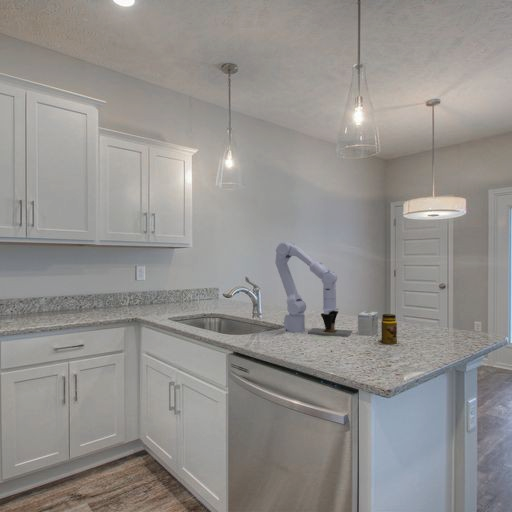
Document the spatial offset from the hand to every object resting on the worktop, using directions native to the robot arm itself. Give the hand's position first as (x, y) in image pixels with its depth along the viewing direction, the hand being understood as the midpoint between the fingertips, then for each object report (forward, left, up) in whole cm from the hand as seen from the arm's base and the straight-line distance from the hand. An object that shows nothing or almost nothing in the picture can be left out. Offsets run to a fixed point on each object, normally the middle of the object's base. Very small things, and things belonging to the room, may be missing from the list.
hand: (329, 328), depth 171 cm
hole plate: (0, 0, -4) cm, 4 cm away
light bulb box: (+16, +7, -4) cm, 18 cm away
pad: (0, -12, -4) cm, 13 cm away
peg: (0, 0, -4) cm, 4 cm away
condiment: (+25, -4, -4) cm, 26 cm away
